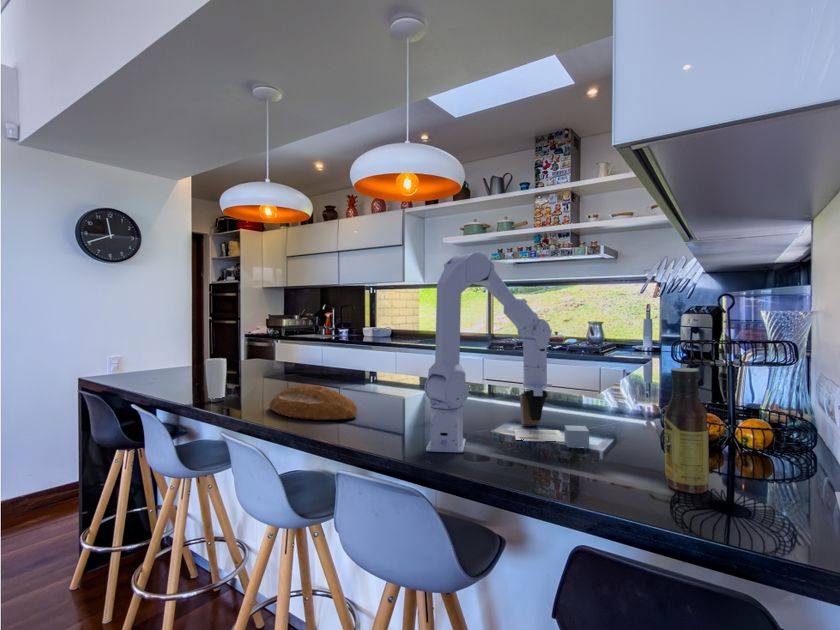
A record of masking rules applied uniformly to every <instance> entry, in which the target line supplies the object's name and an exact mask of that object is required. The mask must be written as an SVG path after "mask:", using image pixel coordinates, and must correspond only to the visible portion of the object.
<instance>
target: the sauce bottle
mask: <svg viewBox="0 0 840 630" xmlns="http://www.w3.org/2000/svg"><path fill="white" fill-rule="evenodd" d="M670 378H671V379H672V380H671V381H672V383H671V384H672V386H671V387H672V391H671V397H670V399H669V401H668V405H667V406H666V410H665V412H664V419H663V420H664V455H665V456H664V461H665V464H664V465H665V467H664V468H665V469H664V470H665V471H664V472H665V474H664V475H665V476H666V483H667V485H668V486H669V488H671V489H672V490H676V491H679V492H681V493H688V494H693V495H694V494H695V495H699V494H702V493H705V492H707V491H709V490H708V489H709V481H710V460H709V457H710V456H709V455H710V453H709V450H710V448H709V426H708V411H707V409H706V406H705V405H704V404H703V402H702V401H701V399H700V398H699V396H700V392H699V381H700V370H699V369H697V368H692V367H691V368H690V367H673V368H671V369H670Z"/></svg>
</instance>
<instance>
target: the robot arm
mask: <svg viewBox="0 0 840 630" xmlns="http://www.w3.org/2000/svg"><path fill="white" fill-rule="evenodd" d="M443 266H444V267H443V271H442V273H441V275H440V277H439V279H438V281H437V284H436V307H435V308H436V311H435V312H436V314H435V315H436V317H435V350H434V351H435V353H434V354H435V359H434V363H432V365H431V366H430V368H428V372H427V373H428V375H427V378H426V381H425V384H424V393H425V396H426V397H427V398H428V399H429V404H430V405H429V406H430V407H429V409H430V411H429V412H430V415H429V416H430V418H429V419H430V423H429V429H430V430H429V435H430V437H429V438H430V439H429V442H428V444H427V446H426V448H425V451H426V452H432V453H433V452H435V453H436V452H437V453H463V452H464V451H465V445H466V440H467V439H466V438H464V436H463V435H464V432H463V431H464V430H463V429H464V427H463V422H464V421H463V408H464V404H466V401H467V400H468V398H469V386H468V384H467V383H468V382H467V381H466V372H465V370H464V368H463V367H462V365H461V363H460V356H461V355H460V354H461V353H460V350H461V349H460V347H461V345H460V344H461V312H462V311H461V309H462V308H461V307H462V306H461V305H462V302H461V301H462V293H463V292H465V291H466V289H468V288H470V286H471V285H477V286H483V287H484V288H485V289H486V290H487V291H488V292H489V293H490V294H491V295H492V296H493V297H494V298H495V299H496V300H497V301H498V302H499V303H500V304H501V305H502V306H503V314H504V315H505V316H506V318H508V320H509V321H511V323H512V324H513V325H514V327H515V328H516V330H517V335H518V337H519V338H520V339H521V340H522V349H523V350H522V351H523V354H522V355H523V356H522V357H523V358H522V359H523V383H522V386H523V387H524V388H526V389H529V390H524V391H523V393H524V394H525V396H526V398H527V401H528V404H529V410H530V415H531V419H532V420H539V421H541V420H542V419H541V418H542V414H543V409H544V405H545V401H546V400H547V398H548V395H549V394H548V392H547V390H545V389H547V388H551V387H553V384H552V383H551V382H548V368H547V367H548V363H547V356H548V355H547V354H548V353H547V349H548V347H549V340H550V338H551V337H552V331H553V329H551V327H550V324H549V323H548V322H547V321H546V320H545V319H544V318H543V319H542V318H540V317H539V316H538V314H537V312H534V310H533V309H532V308H531V307H530V305H529V304H528V301H527V300H526V298H522V297H521V296H514V294H513V293H512V291H511V290H510V289H509V288H508V286H507V285H506V283H505V282H504V281H503V279H502V278H501V277H500V275H499V274H498V273H497V271H496V270H495V269H496V268H495V264H494V262H493V261H492V260H490V259H489V257H488V255H487V254H486V253H485V252H483V251H474V252H472V253H468V254H464V255H457V256H453V257H452V258H450V259H449V260H447V261H446V262H445V263H444V265H443Z"/></svg>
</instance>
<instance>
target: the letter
mask: <svg viewBox="0 0 840 630" xmlns="http://www.w3.org/2000/svg"><path fill="white" fill-rule="evenodd" d="M513 430H514V436H515V441H516V440H521V439H522V440H523V439H524V440H523V441H522V442H545V441H556V442H555V443H565V437H564V436H563V435H562V433H561V431H560V430H558V429H522V428H521V429H520V428H519V429H518V428H517V429H516V428H515V429H513Z"/></svg>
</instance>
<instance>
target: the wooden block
mask: <svg viewBox="0 0 840 630" xmlns="http://www.w3.org/2000/svg"><path fill="white" fill-rule="evenodd" d="M519 404H520V405H519V406H520V407H519V408H520V420H521V421H520V424H521V425H522V426H537V425H540V420H532V419H531V415H530V410H529V404H528V401H527V398H526V396H525V394H524V392H522V393H521V394H520V395H519Z"/></svg>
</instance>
